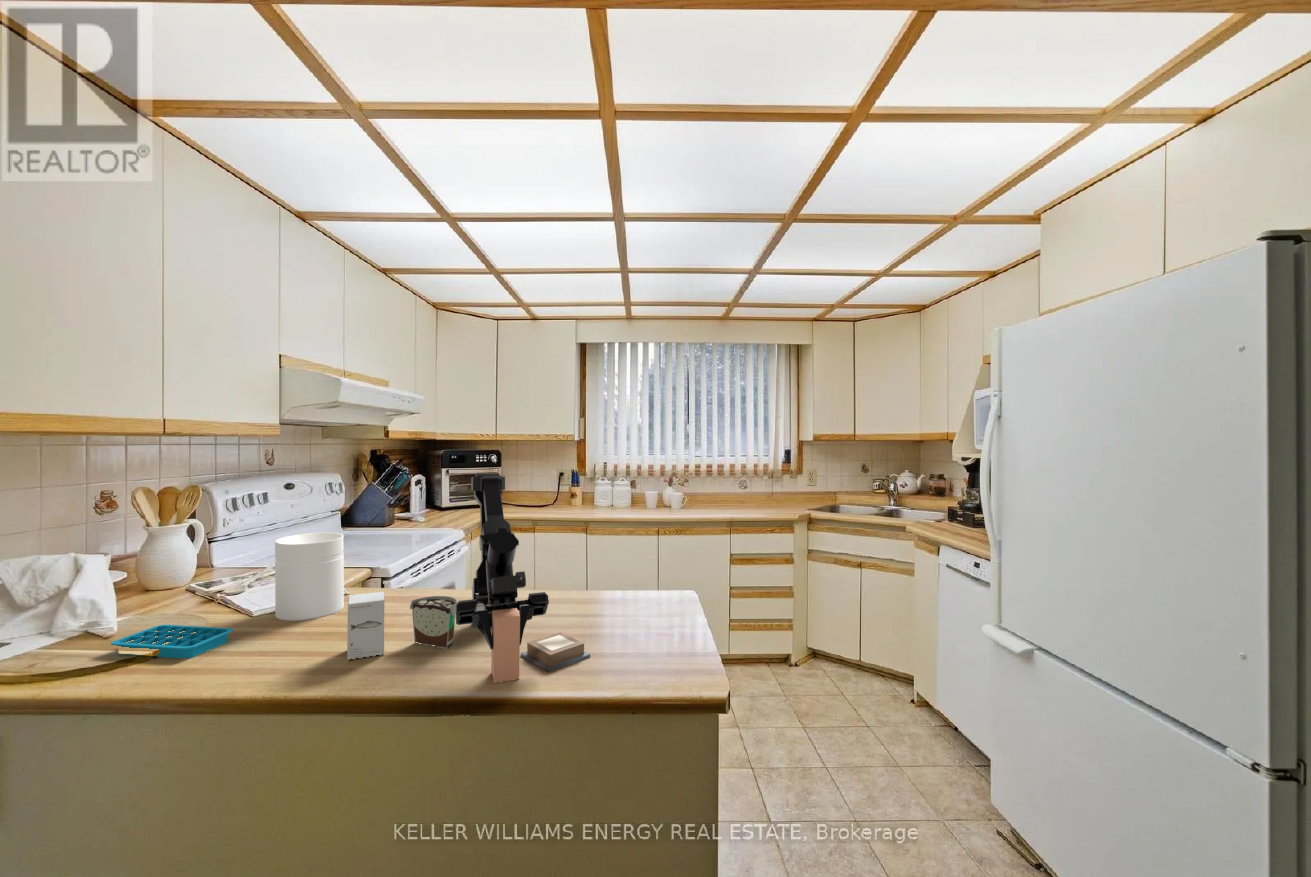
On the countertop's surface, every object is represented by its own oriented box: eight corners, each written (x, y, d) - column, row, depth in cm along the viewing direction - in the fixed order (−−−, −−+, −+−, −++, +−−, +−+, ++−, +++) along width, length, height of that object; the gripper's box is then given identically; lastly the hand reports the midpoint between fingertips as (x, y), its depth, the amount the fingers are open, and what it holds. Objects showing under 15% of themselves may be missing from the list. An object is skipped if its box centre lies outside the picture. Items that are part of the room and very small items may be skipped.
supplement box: (346, 662, 118) (346, 604, 117) (348, 649, 124) (347, 594, 124) (384, 655, 121) (384, 599, 121) (384, 643, 128) (384, 590, 127)
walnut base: (520, 655, 122) (520, 642, 122) (561, 642, 129) (561, 629, 129) (548, 672, 114) (548, 657, 114) (590, 656, 122) (590, 642, 122)
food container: (469, 640, 130) (470, 598, 130) (452, 649, 125) (452, 606, 124) (428, 633, 134) (428, 593, 134) (409, 642, 129) (409, 600, 128)
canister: (355, 607, 152) (355, 536, 152) (292, 625, 139) (292, 547, 138) (326, 597, 161) (325, 530, 160) (264, 612, 147) (263, 539, 147)
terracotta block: (491, 672, 113) (492, 610, 113) (515, 669, 115) (516, 608, 115) (493, 683, 109) (494, 618, 108) (519, 679, 110) (520, 615, 110)
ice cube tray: (161, 636, 131) (161, 624, 131) (236, 641, 129) (236, 628, 129) (107, 656, 120) (107, 643, 120) (189, 662, 117) (189, 648, 117)
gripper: (456, 562, 111) (458, 635, 101) (547, 555, 118) (557, 622, 108) (455, 589, 119) (456, 659, 109) (540, 581, 126) (549, 646, 116)
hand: (505, 646), depth 110 cm, fingers closed on terracotta block, 5 cm apart
